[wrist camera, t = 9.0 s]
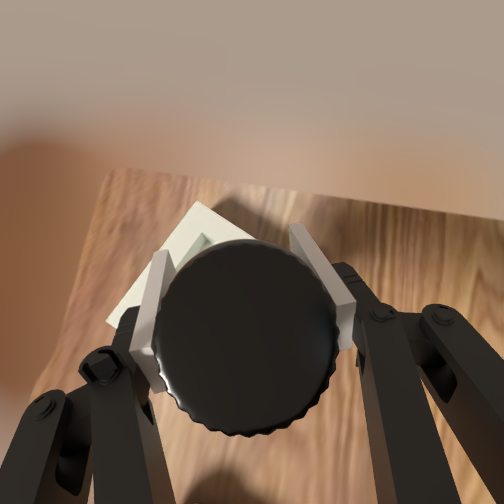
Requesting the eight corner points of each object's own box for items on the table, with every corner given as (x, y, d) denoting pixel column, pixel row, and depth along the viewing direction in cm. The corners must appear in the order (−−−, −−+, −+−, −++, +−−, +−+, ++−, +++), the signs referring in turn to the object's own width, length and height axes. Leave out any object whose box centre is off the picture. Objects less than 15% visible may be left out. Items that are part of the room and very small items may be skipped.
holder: (307, 282, 32) (317, 279, 28) (235, 398, 30) (232, 414, 25) (203, 214, 34) (196, 200, 29) (126, 319, 31) (105, 321, 27)
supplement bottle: (183, 357, 18) (62, 447, 6) (210, 257, 19) (151, 178, 8) (286, 382, 18) (360, 524, 6) (305, 279, 19) (396, 231, 7)
